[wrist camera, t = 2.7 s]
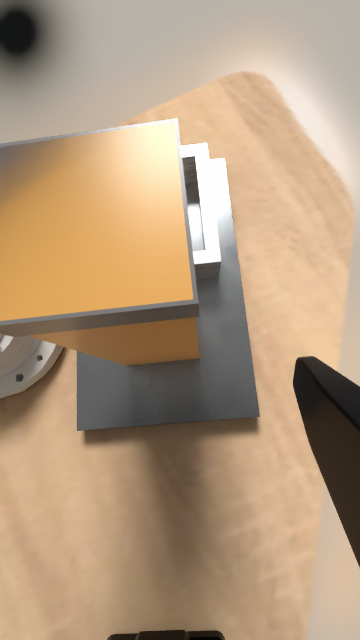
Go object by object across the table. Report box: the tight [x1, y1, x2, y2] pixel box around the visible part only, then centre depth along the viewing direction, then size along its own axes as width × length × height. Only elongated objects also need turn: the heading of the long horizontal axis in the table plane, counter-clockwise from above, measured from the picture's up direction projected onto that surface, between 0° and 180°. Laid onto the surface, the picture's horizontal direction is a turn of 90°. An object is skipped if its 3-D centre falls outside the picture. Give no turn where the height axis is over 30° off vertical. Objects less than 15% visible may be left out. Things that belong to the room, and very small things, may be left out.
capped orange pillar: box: [0, 118, 200, 366], centre depth 13 cm, size 5×5×12 cm
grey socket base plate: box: [77, 143, 260, 431], centre depth 19 cm, size 18×11×4 cm, turn 5°
